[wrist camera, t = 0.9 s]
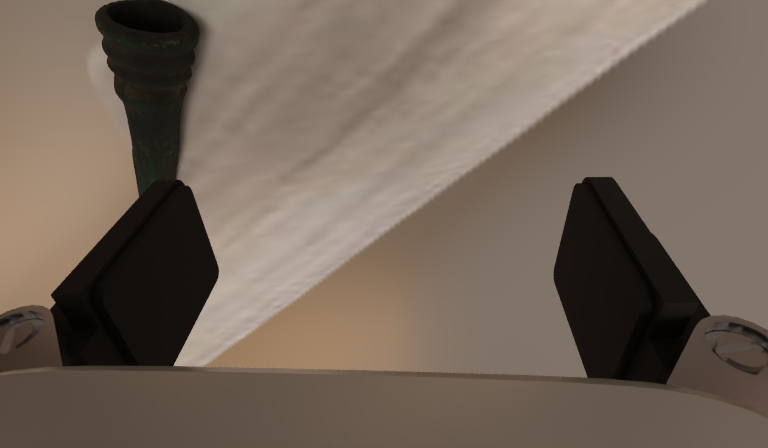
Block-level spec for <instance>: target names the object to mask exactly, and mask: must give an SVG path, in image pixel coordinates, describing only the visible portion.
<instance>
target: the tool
mask: <svg viewBox="0 0 768 448" xmlns="http://www.w3.org/2000/svg"><path fill="white" fill-rule="evenodd" d="M95 22H96V26H97V28H98V30H99V31H100V32H101V34H102V35H103V36H104V37H103V40H102V48H103V50H104V52H105V53H106V55H107V56H108V58H107V64H108V67H109V68H110V69H111V71H113V72H114V75H115V77H114V88H115V92H116V94H117V95H118V97H119V98H120V99H121V100H122V101H123V103H124V106H125V110H126V114H127V119H128V124H129V129H130V135H131V140H132V155H133V163H134V168H135V174H136V180H137V186H138V192H139V197H140V196H141V195H142V194H143V193H144V192H145V190H146V189H147V188H148V187H149V186H150V185H151V184H152V183H153V182H154V181H156V180H175V173H176V166H177V159H178V151H179V148H178V144H179V122H180V112H181V106H182V100H183V97H184V95H185V93H186V91H187V86H186V82H187V81H188V80H189V79H190V78H191V75H192V73H191V69H190V66H191V65H193V63H194V60H195V54H194V51H193V49H194V48H195V46H196V45H197V43H198V40H199V35H200V31H199V27H198V25H197V23H196V22H195V21H194V20H193V19H192V18H191V17H190V16H189V15H188V14H187V13H185V12H184V11H183V10H181V9H180V8H178V7H176V6H174V5H172V4H170V3H166V2H163V1H161V0H124V1H117V2H112V3H109V4H108V5H104V6H103V7H101V8H100V9H99V10H98V11H97V12H96V14H95Z"/></svg>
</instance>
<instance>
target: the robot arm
mask: <svg viewBox="0 0 768 448" xmlns="http://www.w3.org/2000/svg"><path fill="white" fill-rule="evenodd" d="M218 275H219V268H218V264H217V261H216V259H215V256H214V253H213V250H212V247H211V244H210V241H209V238H208V236H207V233H206V230H205V227H204V224H203V221H202V218H201V215H200V213H199V210H198V207H197V204H196V201H195V198H194V195H193V192H192V190H191V188H190V187H189V186H185V185H184V183H183V182H182V181H180V180H156V181H154V182H153V183H152V184H151V185H150V186H149V187H148V188H147V189H146V190H145V192H144V193H143V194H142V195H141V196H140V197H139V198H138V199H137V201H135V203H134V204H133V205H132V206H131V207H130V208H129V209H128V211H126V213H125V214H124V215H123V216H122V217H121V218H120V219H119V220H118V221H117V222H116V224H115V225H114V226H113V227H112V228H111V229H110V230H109V231H108V232H107V233H106V235H105V236H104V237H103V238H102V239H101V240H100V241H99V242H98V243H97V244H96V246H95V247H94V248H93V249H92V250H91V251H90V252H89V253H88V254H87V255H86V257H85V258H84V259H83V260H82V261H81V262H80V263H79V264H78V265H77V266H76V268H75V269H74V270H73V271H72V272H71V273H70V274H69V275H68V277H66V279H65V280H64V281H63V282H62V283H61V284H60V285H59V286H58V288H57V289H56V290H55V291H54V292H53V293H52V294H51V296H52V298H53V299H54V301H55V302H56V303H55V304H54V306H53V307H52V308H51V309H50V310H49V309H48V308H46V307H44V306H37V305H30V306H23V307H19V308H16V309H13V310H10V311H7V312H5V313H3V314H1V315H0V448H768V330H766V329H764V328H763V327H760V326H759V325H757V324H755V323H753V322H750V321H747V320H744V319H741V318H738V317H732V316H726V315H720V316H719V315H718V316H710V314H709V313H708V311H707V310H706V309H705V307H704V306H703V304H702V303H701V301H700V300H699V298H698V297H697V296H696V294H695V293H694V291H693V290H692V288H691V287H690V285H689V284H688V283H687V281H686V280H685V278H684V277H683V275H682V274H681V272H680V271H679V269H678V268H677V267H676V265H675V264H674V262H673V261H672V259H671V258H670V256H669V255H668V254H667V252H666V251H665V249H664V248H663V246H662V245H661V243H660V242H659V241H658V239H657V238H656V237H655V236H654V235H653V234H652V233H651V232H650V231H649V229H648V228H647V226H646V225H645V223H644V222H643V221H642V219H641V218H640V216H639V215H638V213H637V212H636V210H635V209H634V207H633V206H632V204H631V203H630V202H629V200H628V199H627V197H626V196H625V194H624V193H623V191H622V190H621V188H620V187H619V186H618V184H617V183H616V181H615V180H614V179H613V178H612V177H586V178H584V180H583V181H582V183H579V184H578V183H577V184H576V185H575V186H574V189H573V193H572V197H571V201H570V205H569V209H568V213H567V217H566V222H565V226H564V230H563V234H562V238H561V242H560V247H559V250H558V255H557V259H556V263H555V267H554V282H555V286H556V289H557V291H558V294H559V297H560V300H561V302H562V305H563V308H564V311H565V314H566V317H567V320H568V323H569V325H570V328H571V331H572V334H573V337H574V339H575V343H576V345H577V348H578V351H579V354H580V357H581V359H582V363H583V365H584V368H585V371H586V374H587V377H588V378H581V377H558V376H535V375H509V374H475V373H474V374H473V373H441V372H407V371H404V372H403V371H369V370H367V371H366V370H329V369H328V370H327V369H285V368H238V367H236V368H235V367H234V368H233V367H186V366H173V365H174V363H175V361H176V359H177V357H178V355H179V353H180V352H181V350H182V348H183V346H184V344H185V342H186V340H187V338H188V336H189V334H190V332H191V330H192V328H193V326H194V324H195V322H196V320H197V318H198V317H199V315H200V313H201V311H202V309H203V307H204V305H205V303H206V301H207V299H208V297H209V295H210V293H211V291H212V289H213V287H214V285H215V283H216V282H217V279H218Z"/></svg>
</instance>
